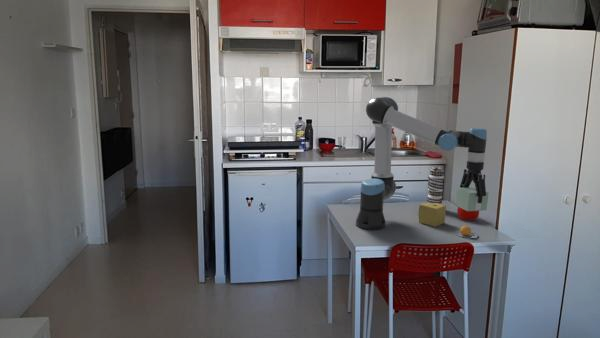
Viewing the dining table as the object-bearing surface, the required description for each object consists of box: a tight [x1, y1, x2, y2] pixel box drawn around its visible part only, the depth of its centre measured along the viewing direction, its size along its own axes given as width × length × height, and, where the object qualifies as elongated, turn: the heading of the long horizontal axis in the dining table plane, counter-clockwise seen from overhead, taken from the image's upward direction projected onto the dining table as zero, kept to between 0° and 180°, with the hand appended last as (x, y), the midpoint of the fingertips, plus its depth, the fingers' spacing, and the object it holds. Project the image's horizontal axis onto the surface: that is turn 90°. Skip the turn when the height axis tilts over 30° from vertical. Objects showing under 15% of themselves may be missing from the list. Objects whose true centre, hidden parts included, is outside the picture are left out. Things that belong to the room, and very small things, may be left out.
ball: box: [459, 225, 472, 236], centre depth 220 cm, size 5×5×5 cm
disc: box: [456, 231, 476, 240], centre depth 221 cm, size 10×10×1 cm
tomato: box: [456, 206, 480, 221], centre depth 246 cm, size 11×12×9 cm
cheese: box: [418, 202, 447, 227], centre depth 238 cm, size 10×11×10 cm
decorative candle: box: [426, 166, 446, 204], centre depth 262 cm, size 9×9×25 cm
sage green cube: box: [455, 186, 489, 212], centre depth 217 cm, size 10×10×9 cm
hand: (470, 206), depth 218 cm, fingers closed on sage green cube, 10 cm apart
